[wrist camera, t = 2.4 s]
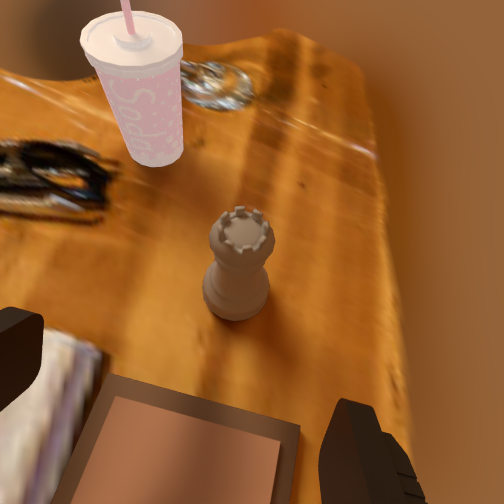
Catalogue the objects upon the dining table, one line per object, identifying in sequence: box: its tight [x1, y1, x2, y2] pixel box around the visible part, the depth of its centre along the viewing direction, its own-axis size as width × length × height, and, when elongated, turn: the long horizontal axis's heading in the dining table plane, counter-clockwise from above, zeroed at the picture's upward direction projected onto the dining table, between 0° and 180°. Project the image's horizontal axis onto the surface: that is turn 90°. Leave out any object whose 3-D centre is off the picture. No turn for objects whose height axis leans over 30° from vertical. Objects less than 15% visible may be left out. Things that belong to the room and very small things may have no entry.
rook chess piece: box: [202, 206, 275, 321], centre depth 19 cm, size 4×4×8 cm
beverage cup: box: [80, 0, 183, 167], centre depth 22 cm, size 6×6×14 cm
